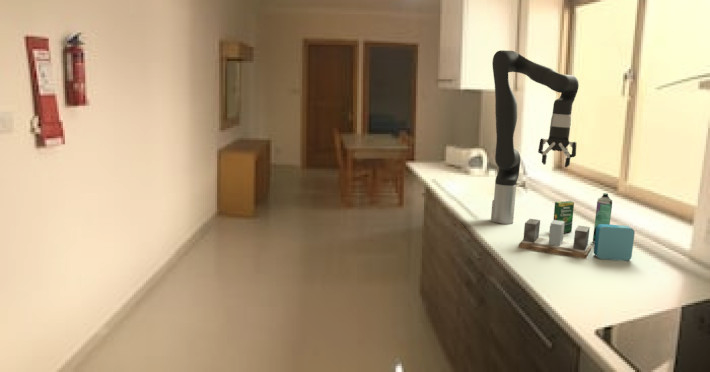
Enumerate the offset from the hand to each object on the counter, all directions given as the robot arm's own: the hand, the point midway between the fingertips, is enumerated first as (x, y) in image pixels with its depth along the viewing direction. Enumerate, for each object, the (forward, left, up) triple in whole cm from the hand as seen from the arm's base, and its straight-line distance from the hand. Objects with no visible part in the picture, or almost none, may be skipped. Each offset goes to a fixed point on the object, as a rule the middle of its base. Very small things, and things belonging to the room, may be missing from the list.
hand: (555, 165), depth 235 cm
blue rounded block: (+26, -20, -29) cm, 44 cm away
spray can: (+20, +1, -29) cm, 35 cm away
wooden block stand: (+6, -20, -29) cm, 36 cm away
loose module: (+6, -20, -27) cm, 34 cm away
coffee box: (+4, +10, -29) cm, 31 cm away
